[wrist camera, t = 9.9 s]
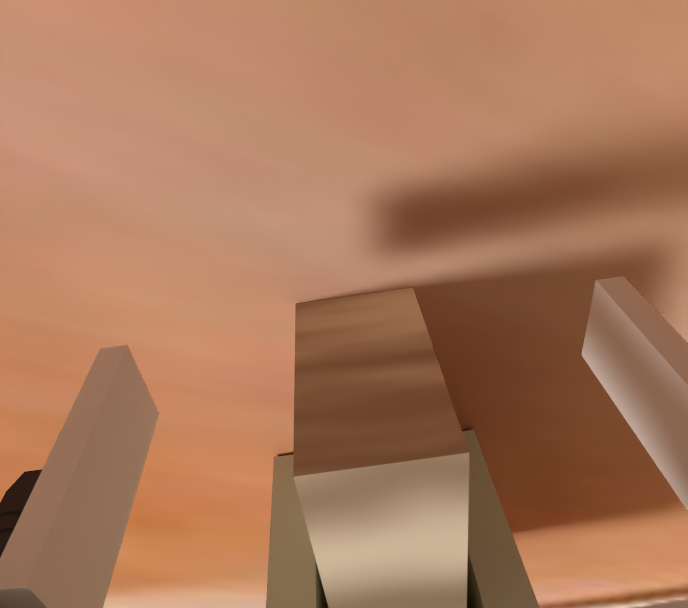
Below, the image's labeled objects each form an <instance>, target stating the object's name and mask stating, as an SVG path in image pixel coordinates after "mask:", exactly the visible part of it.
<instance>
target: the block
mask: <svg viewBox="0 0 688 608" xmlns="http://www.w3.org/2000/svg"><path fill="white" fill-rule="evenodd" d="M462 432H463V435H464V438H465V441H466V444H467V447H468V450H469V506H468V563H467V608H539V605H538V603H537V600H536V597H535V594H534V592H533V589H532V586H531V584H530V581H529V578H528V575H527V573H526V570H525V567H524V565H523V562H522V559H521V556H520V554H519V551H518V548H517V546H516V543H515V540H514V537H513V535H512V532H511V529H510V527H509V524H508V521H507V518H506V516H505V513H504V510H503V508H502V505H501V502H500V500H499V497H498V494H497V491H496V489H495V486H494V483H493V481H492V478H491V475H490V472H489V470H488V467H487V464H486V462H485V459H484V456H483V453H482V451H481V448H480V445H479V443H478V440H477V437H476V434H475V432H474V430H468V431H462ZM293 459H294V454H293V455H285V456H278V457H274V467H273V486H272V505H271V524H270V543H269V562H268V581H267V600H266V608H329V607H328V603H327V600H326V596H325V592H324V589H323V585H322V581H321V578H320V574H319V570H318V566H317V563H316V559H315V555H314V552H313V548H312V544H311V541H310V537H309V533H308V529H307V526H306V522H305V518H304V515H303V511H302V507H301V504H300V500H299V496H298V493H297V489H296V485H295V481H294V478H293Z"/></svg>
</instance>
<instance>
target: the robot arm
mask: <svg viewBox="0 0 688 608" xmlns="http://www.w3.org/2000/svg"><path fill="white" fill-rule="evenodd" d="M581 355H582V357H583V358H584V360H585V361H586V362H587V364H588V365H589V367H590V368H591V370H592V371H593V373H594V374H595V376H596V377H597V379H598V380H599V382H600V383H601V384H602V386H603V387H604V389H605V390H606V392H607V393H608V395H609V396H610V398H611V399H612V401H613V402H614V404H615V405H616V406H617V408H618V409H619V411H620V412H621V414H622V415H623V417H624V418H625V420H626V421H627V423H628V424H629V426H630V427H631V428H632V430H633V431H634V433H635V434H636V436H637V437H638V439H639V440H640V442H641V443H642V445H643V446H644V448H645V449H646V450H647V452H648V453H649V455H650V456H651V458H652V459H653V461H654V462H655V464H656V465H657V467H658V468H659V470H660V471H661V472H662V474H663V475H664V477H665V478H666V480H667V481H668V483H669V484H670V486H671V487H672V489H673V490H674V492H675V493H676V494H677V496H678V497H679V499H680V500H681V502H682V503H683V505H684V506H685V508H686V509H687V511H688V343H687V342H686V341H685V340H684V339H683V337H682V336H681V335H680V334H679V333H678V332H677V331H676V330H675V329H674V328H673V327H672V326H671V325H670V324H669V323H668V322H667V321H666V320H665V319H664V318H663V317H662V316H661V315H660V314H659V313H658V312H657V311H656V309H655V308H654V307H653V306H652V305H651V304H650V303H649V302H648V301H647V300H646V299H645V298H644V297H643V296H642V295H641V294H640V293H639V292H638V291H637V290H636V289H635V288H634V287H633V286H632V285H631V284H630V283H629V281H628V280H627V279H626V278H625V277H624V276H620V277H613V278H606V279H599V280H596V281H595V287H594V292H593V297H592V302H591V307H590V313H589V318H588V323H587V328H586V333H585V339H584V344H583V349H582V354H581ZM158 415H159V412H158V410H157V408H156V406H155V403H154V401H153V399H152V397H151V395H150V393H149V391H148V388H147V386H146V384H145V382H144V380H143V378H142V375H141V373H140V371H139V369H138V367H137V365H136V363H135V360H134V358H133V356H132V354H131V352H130V350H129V347H128V345H123V346H116V347H109V348H102V349H100V350H99V352H98V354H97V356H96V359H95V361H94V363H93V365H92V367H91V369H90V371H89V373H88V375H87V377H86V379H85V382H84V384H83V386H82V388H81V390H80V392H79V394H78V396H77V398H76V400H75V402H74V405H73V407H72V409H71V411H70V413H69V415H68V417H67V419H66V421H65V423H64V425H63V428H62V430H61V432H60V434H59V436H58V438H57V440H56V442H55V444H54V446H53V448H52V451H51V453H50V455H49V457H48V459H47V461H46V463H45V465H44V467H43V469H42V470H35V471H28V472H24V473H23V474H22V475H21V476H20V477H19V478H18V480H17V481H16V482H15V483H14V484H13V485H12V486H11V487H10V488H9V489H8V490H7V491H6V493H5V495H4V497H3V499H2V501H1V502H0V608H103V605H104V601H105V598H106V595H107V591H108V588H109V584H110V581H111V577H112V574H113V570H114V567H115V563H116V560H117V557H118V553H119V550H120V546H121V543H122V539H123V536H124V532H125V529H126V525H127V522H128V519H129V515H130V512H131V508H132V505H133V501H134V498H135V494H136V491H137V487H138V484H139V481H140V477H141V474H142V470H143V467H144V463H145V460H146V456H147V453H148V450H149V446H150V443H151V439H152V436H153V432H154V429H155V425H156V422H157V418H158Z"/></svg>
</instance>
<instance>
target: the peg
mask: <svg viewBox="0 0 688 608" xmlns="http://www.w3.org/2000/svg"><path fill="white" fill-rule="evenodd" d="M293 478H294V481H295V485H296V489H297V493H298V496H299V500H300V504H301V507H302V511H303V515H304V518H305V522H306V526H307V529H308V533H309V537H310V541H311V544H312V548H313V552H314V555H315V559H316V563H317V566H318V570H319V574H320V578H321V581H322V585H323V589H324V592H325V596H326V600H327V603H328V607H329V608H467V563H468V506H469V450H468V447H467V444H466V441H465V438H464V435H463V432H462V429H461V427H460V424H459V421H458V418H457V415H456V412H455V409H454V406H453V403H452V400H451V397H450V394H449V391H448V389H447V386H446V383H445V380H444V377H443V374H442V371H441V368H440V365H439V362H438V359H437V356H436V353H435V351H434V348H433V345H432V342H431V339H430V336H429V333H428V330H427V327H426V324H425V321H424V318H423V316H422V313H421V310H420V307H419V304H418V301H417V298H416V295H415V292H414V289H413V287H411V288H404V289H397V290H390V291H383V292H376V293H368V294H361V295H354V296H347V297H340V298H333V299H326V300H319V301H311V302H304V303H297V304H296V319H295V389H294V459H293Z"/></svg>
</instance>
